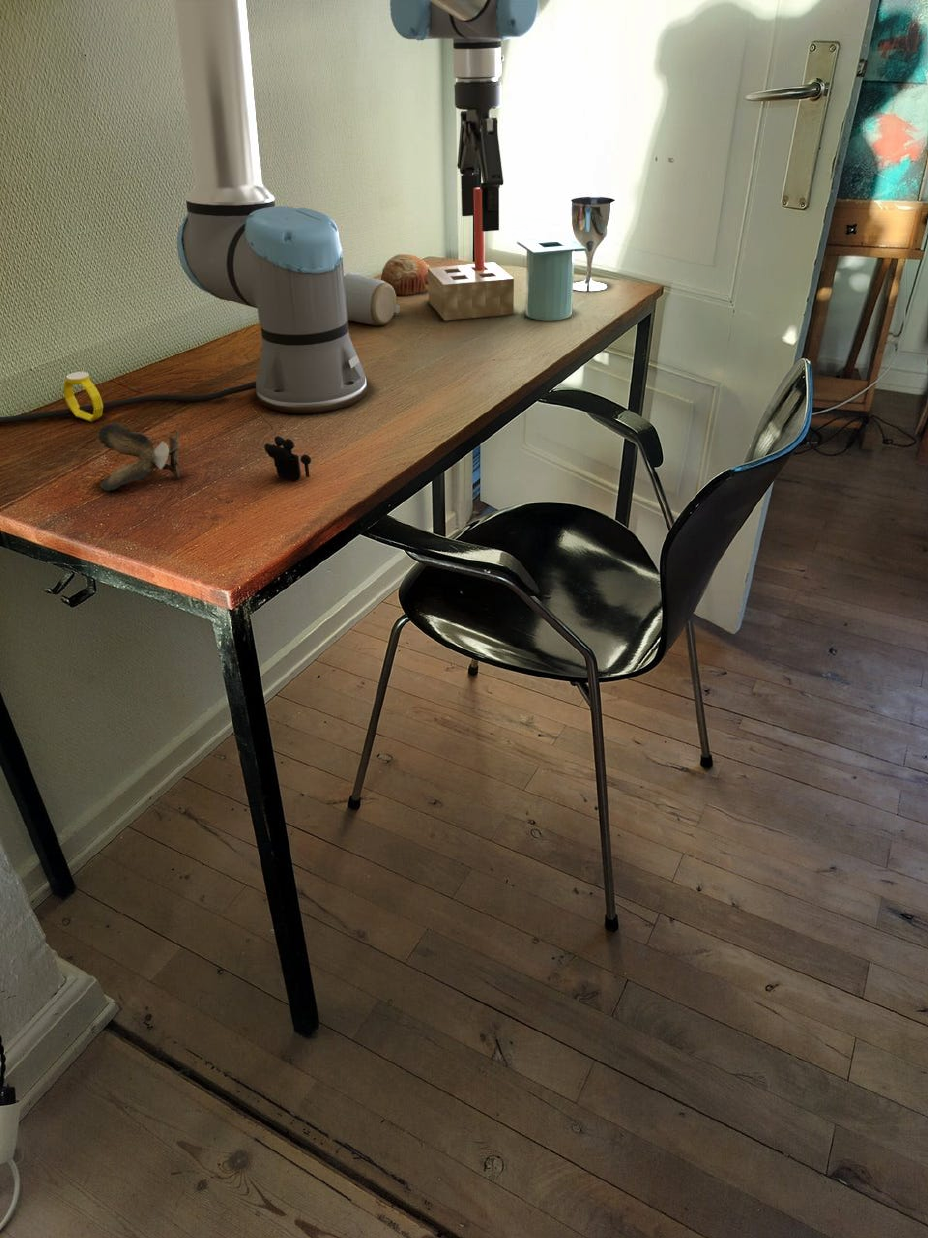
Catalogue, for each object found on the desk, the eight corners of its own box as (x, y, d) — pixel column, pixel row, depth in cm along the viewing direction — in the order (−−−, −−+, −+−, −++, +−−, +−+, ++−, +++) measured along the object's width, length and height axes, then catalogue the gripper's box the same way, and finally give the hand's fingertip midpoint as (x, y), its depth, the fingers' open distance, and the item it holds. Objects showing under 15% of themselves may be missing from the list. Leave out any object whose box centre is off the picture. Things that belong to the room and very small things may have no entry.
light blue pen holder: (533, 322, 152) (535, 253, 146) (519, 309, 158) (520, 243, 152) (578, 318, 154) (581, 250, 147) (562, 305, 160) (565, 240, 154)
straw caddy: (444, 320, 154) (443, 284, 150) (428, 301, 164) (427, 267, 160) (513, 314, 156) (514, 278, 153) (494, 296, 166) (494, 262, 163)
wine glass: (618, 287, 170) (624, 200, 161) (585, 294, 166) (590, 206, 157) (590, 278, 175) (594, 194, 167) (558, 285, 171) (561, 200, 163)
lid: (533, 254, 145) (533, 252, 145) (517, 243, 152) (517, 240, 152) (585, 250, 147) (585, 247, 147) (567, 239, 154) (567, 236, 154)
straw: (476, 304, 162) (475, 189, 151) (474, 302, 163) (472, 187, 152) (486, 303, 162) (485, 188, 151) (483, 301, 163) (482, 186, 153)
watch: (65, 417, 120) (52, 374, 117) (81, 411, 122) (70, 368, 119) (94, 426, 118) (82, 381, 114) (111, 419, 120) (100, 375, 116)
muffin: (390, 301, 178) (370, 263, 174) (436, 275, 176) (417, 237, 172) (392, 315, 170) (371, 276, 165) (440, 288, 168) (420, 248, 164)
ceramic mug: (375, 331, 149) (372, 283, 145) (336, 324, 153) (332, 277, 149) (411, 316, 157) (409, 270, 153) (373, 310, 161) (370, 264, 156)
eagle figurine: (179, 449, 108) (99, 445, 105) (179, 412, 102) (93, 407, 99) (179, 503, 105) (97, 500, 102) (179, 469, 99) (91, 466, 96)
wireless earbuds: (316, 483, 102) (311, 441, 99) (301, 491, 100) (295, 449, 98) (272, 469, 105) (266, 428, 103) (257, 477, 104) (250, 436, 101)
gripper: (523, 83, 134) (522, 235, 146) (480, 73, 154) (481, 207, 166) (475, 86, 132) (477, 239, 144) (437, 75, 152) (442, 211, 164)
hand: (479, 222), depth 155 cm, fingers open, 13 cm apart
